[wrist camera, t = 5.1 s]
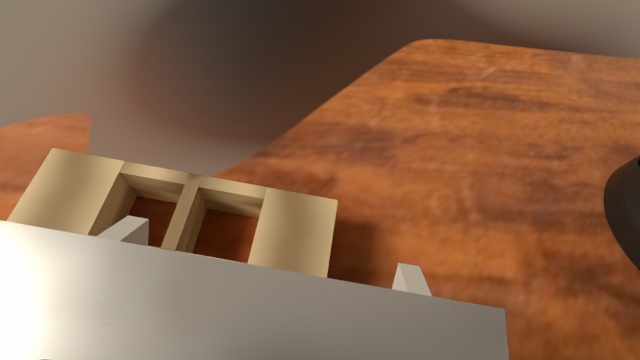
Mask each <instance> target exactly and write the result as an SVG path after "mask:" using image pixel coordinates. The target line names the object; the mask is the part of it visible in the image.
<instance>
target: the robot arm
mask: <svg viewBox="0 0 640 360" xmlns="http://www.w3.org/2000/svg"><path fill="white" fill-rule="evenodd" d="M604 207H605V212H606V216H607V220H608V222H609V225H610V227H611V230H612V232H613V234H614V236H615V238H616V239H617V241H618V243H619V244H620V246H621V247H622V249H623V250H624V252H625V253H626V254H627V256H628V257H629V258H630V259H631V261H632V262H633V263H634V264H635V265H636V266H637V267H638V268H639V269H640V156H638V157H636V158H634V159H633V160H631V161H629V162H628V163H626V164H625V165H623V166H621V167H620V168H618V169H617V170H616V171H615V172H614V173H613V174H612V175H611V176H610V178H609V179H608V181H607V184H606V187H605V192H604ZM148 232H149V219H146V218H140V217H134V216H129V215H128V216H127V217H125V218H124V219H122V220H120V221H119V222H117V223H116V224H114V225H113V226H111V227H110V228H108V229H107V230H105V231H104V232H102V233H101V234H99V235H98V236H96V237H98V238H104V239H109V240H115V241H121V242H126V243H132V244H138V245H143V246H148ZM392 289H393V290H399V291H404V292H410V293H416V294H421V295H427V296H432V295H431V293H430V290H429V288H428V286H427V283H426V281H425V278H424V276H423V274H422V271H421V269H420V266H414V265H408V264H403V263H398V267H397V271H396V275H395V279H394V283H393V287H392Z"/></svg>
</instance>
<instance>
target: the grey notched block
mask: <svg viewBox="0 0 640 360" xmlns="http://www.w3.org/2000/svg"><path fill="white" fill-rule="evenodd" d="M0 360H509V352H508V341H507V330H506V318H505V309H501V308H495V307H489V306H484V305H478V304H472V303H467V302H461V301H455V300H450V299H444V298H438V297H433V296H427V295H421V294H416V293H410V292H404V291H399V290H393V289H387V288H382V287H376V286H370V285H365V284H359V283H353V282H348V281H342V280H336V279H331V278H325V277H319V276H314V275H308V274H302V273H296V272H291V271H285V270H279V269H274V268H268V267H262V266H257V265H251V264H245V263H240V262H234V261H228V260H223V259H217V258H211V257H206V256H200V255H194V254H189V253H183V252H177V251H172V250H166V249H160V248H155V247H149V246H143V245H138V244H132V243H126V242H121V241H115V240H109V239H104V238H98V237H92V236H87V235H81V234H75V233H70V232H64V231H58V230H53V229H47V228H41V227H36V226H30V225H24V224H18V223H13V222H7V221H1V220H0Z"/></svg>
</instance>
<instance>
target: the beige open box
mask: <svg viewBox="0 0 640 360" xmlns="http://www.w3.org/2000/svg"><path fill="white" fill-rule="evenodd" d="M137 196H139V197H144V198H150V199H155V200H161V201H166V202H172V203H177V206H176V209H175V212H174V214H173V217H172V219H171V222H170V225H169V227H168V230H167V232H166V235H165V237H164V240H163V243H162V245H161V248H160V249H166V250H172V251H177V252H183V253H189V254H192V253H193V250H194V247H195V244H196V241H197V238H198V235H199V232H200V229H201V226H202V223H203V220H204V217H205V214H206V211H207V209H210V210H216V211H221V212H227V213H232V214H238V215H243V216H249V217H254V218H259V221H258V225H257V228H256V232H255V236H254V240H253V244H252V248H251V252H250V256H249V259H248V263H245V264H251V265H257V266H262V267H268V268H274V269H279V270H285V271H291V272H296V273H302V274H308V275H314V276H319V277H325V278H327V273H328V266H329V259H330V252H331V245H332V238H333V231H334V224H335V217H336V210H337V203H338V200H334V199H328V198H323V197H317V196H312V195H306V194H301V193H296V192H290V191H285V190H279V189H274V188H268V187H263V186H257V185H252V184H246V183H241V182H235V181H230V180H225V179H219V178H214V177H208V176H203V175H197V174H192V173H186V172H180V171H175V170H170V169H164V168H159V167H154V166H147V165H142V164H137V163H131V162H126V161H121V160H115V159H110V158H104V157H99V156H93V155H88V154H83V153H77V152H72V151H66V150H61V149H55V148H52V150H51V151H50V153H49V155H48V156H47V158H46V159H45V161H44V162H43V164H42V166H41V167H40V169H39V170H38V172H37V174H36V175H35V177H34V178H33V180H32V181H31V183H30V185H29V186H28V188H27V189H26V191H25V192H24V194H23V196H22V197H21V199H20V200H19V202H18V204H17V205H16V207H15V208H14V210H13V211H12V213H11V215H10V216H9V218H8V219H7V222H13V223H18V224H24V225H30V226H36V227H41V228H47V229H53V230H58V231H64V232H70V233H75V234H81V235H87V236H92V237H96V236H98V235H99V234H101V233H102V232H104V231H105V230H107V229H108V228H110V227H111V226H113V225H114V224H116V223H117V222H119V221H120V220H122V219H124V218H125V217H127V216H128V215H129V213H130V210H131V208H132V206H133V204H134V202H135V199H136V197H137ZM149 247H153V246H149ZM155 248H159V247H155ZM194 255H198V254H194ZM200 256H203V255H200ZM206 257H209V256H206ZM211 258H214V257H211ZM217 259H220V258H217ZM223 260H225V259H223ZM228 261H231V260H228ZM234 262H237V261H234ZM240 263H242V262H240Z"/></svg>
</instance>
